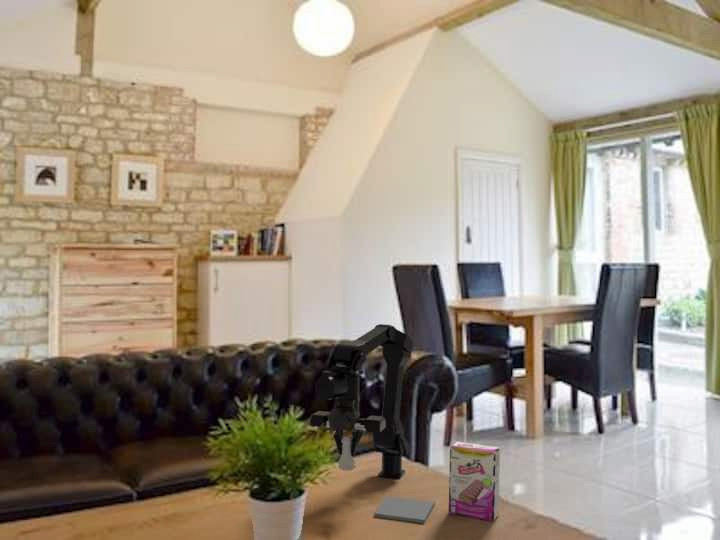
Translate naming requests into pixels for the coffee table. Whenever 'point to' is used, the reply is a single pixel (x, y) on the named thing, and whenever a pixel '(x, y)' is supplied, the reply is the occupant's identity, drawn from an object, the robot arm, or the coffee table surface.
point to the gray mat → (405, 509)
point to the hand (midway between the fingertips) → (347, 455)
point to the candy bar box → (474, 481)
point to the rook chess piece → (346, 454)
